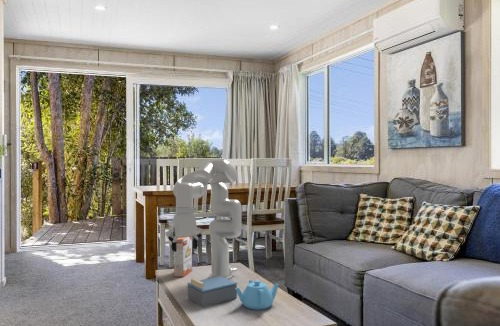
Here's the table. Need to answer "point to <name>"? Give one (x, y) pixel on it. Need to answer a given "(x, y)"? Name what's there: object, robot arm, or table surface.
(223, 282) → the lid
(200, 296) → the base
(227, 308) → the table surface
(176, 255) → the cracker box
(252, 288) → the teapot
